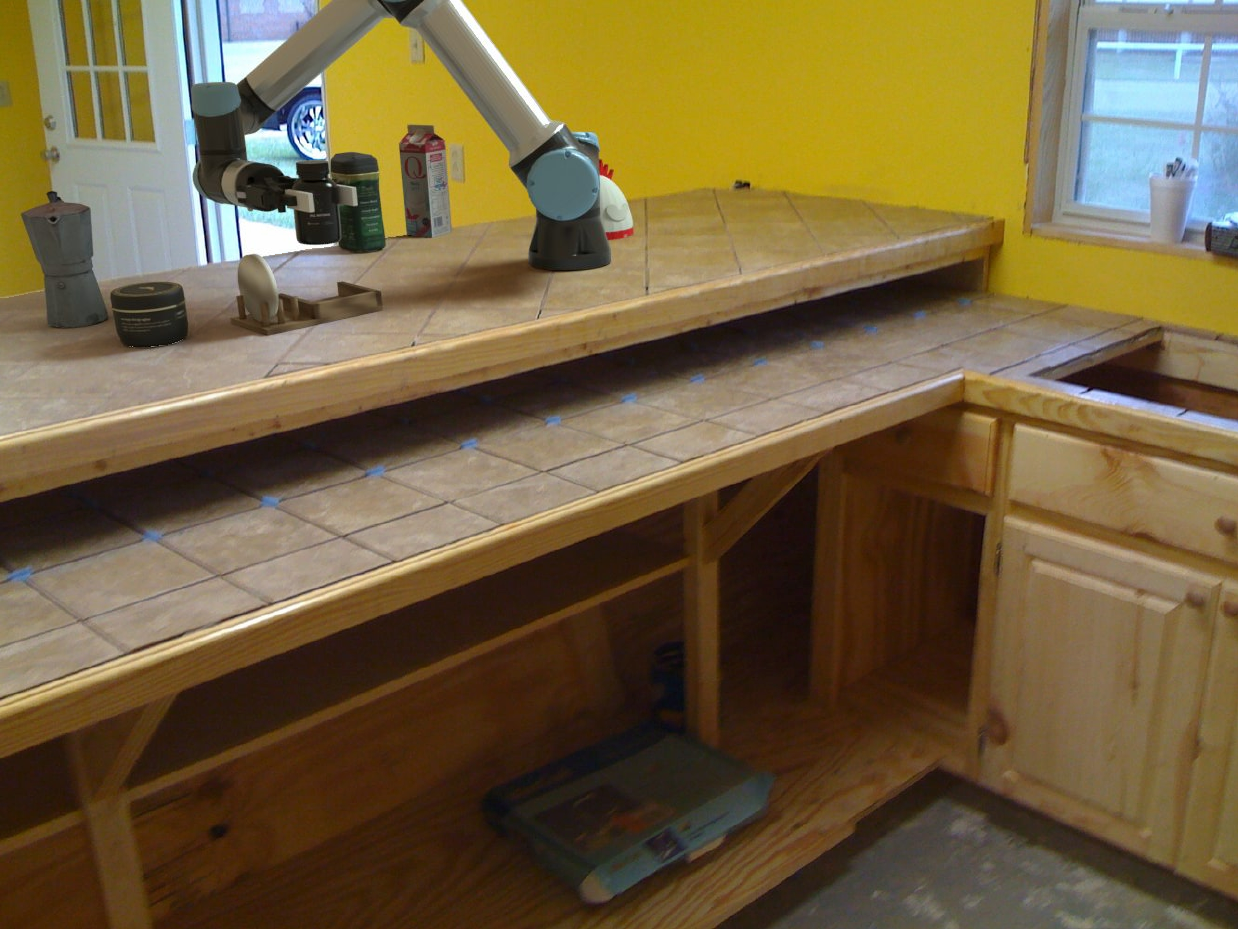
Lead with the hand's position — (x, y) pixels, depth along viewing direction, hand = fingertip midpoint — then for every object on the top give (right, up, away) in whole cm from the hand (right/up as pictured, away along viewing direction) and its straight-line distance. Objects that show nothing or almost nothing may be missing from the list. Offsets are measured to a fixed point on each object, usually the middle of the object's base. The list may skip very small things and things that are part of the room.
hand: (333, 199), depth 177 cm
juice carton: (+3, +9, +71) cm, 72 cm away
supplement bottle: (-3, -5, +6) cm, 9 cm away
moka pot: (-42, -17, +8) cm, 46 cm away
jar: (-25, -22, -4) cm, 33 cm away
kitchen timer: (+39, +8, +67) cm, 78 cm away
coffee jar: (-8, +3, +57) cm, 58 cm away
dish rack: (-6, -16, +7) cm, 19 cm away
